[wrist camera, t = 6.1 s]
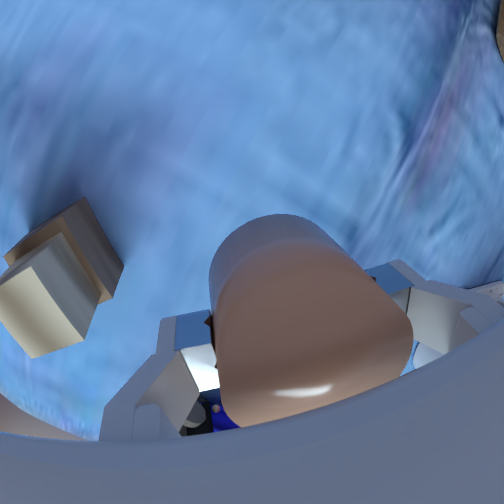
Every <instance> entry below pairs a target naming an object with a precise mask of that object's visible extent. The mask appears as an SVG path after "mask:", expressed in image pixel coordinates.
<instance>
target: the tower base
mask: <svg viewBox="0 0 504 504" xmlns="http://www.w3.org/2000/svg"><path fill="white" fill-rule="evenodd" d="M60 232H63V234H64V235H65V237H66V239H67V241H68V242H69V244H70V246H71V248H72V249H73V251H74V253H75V254H76V256H77V258H78V259H79V261H80V263H81V264H82V266H83V267H84V269H85V271H86V272H87V274H88V275H89V277H90V279H91V280H92V282H93V283H94V285H95V286H96V288H97V289H98V291H99V292H100V294H101V297H100V300H99V302H98V304H100V303H102V302H105V301H107V300H109V299H111V298H113V295H114V293H115V290H116V287H117V284H118V281H119V279H120V276H121V273H122V271H123V268H124V266H123V264H122V262H121V261H120V259H119V257H118V256H117V254H116V252H115V251H114V249H113V247H112V246H111V244H110V242H109V241H108V239H107V237H106V235H105V234H104V232H103V230H102V228H101V226H100V225H99V223H98V221H97V219H96V217H95V215H94V214H93V212H92V210H91V208H90V206H89V204H88V202H87V200H86V198H85V197H83V198H81V199H80V200H78V201H76V202H75V203H73V204H72V205H70V206H68V207H67V208H65V209H64V210H62V211H60V212H59V213H57V214H56V215H54V216H53V217H51V218H50V219H48V220H47V221H45V222H44V223H42V224H41V225H39V226H38V227H36V228H35V229H33V230H32V231H30V232H29V233H28V234H27V235H26V236H25V237H23V238H22V239H21V240H20V241H19V242H18V243H17V244H16V245H15V246H14V247H13V248H12V249H11V250H10V251H9V252H7V253H6V254H5V255H4V256H3V257H4V259H5V260H6V262H7V263H8V265H9V267H10V266H11V265H12V264H13V262H14V261H16V260H17V259H19V258H20V257H22V256H23V255H25V254H26V253H28V252H29V251H31V250H32V249H34V248H36V247H37V246H39V245H40V244H42V243H44V242H45V241H47V240H49V239H50V238H52V237H53V236H55V235H57V234H59V233H60Z"/></svg>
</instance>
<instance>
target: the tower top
mask: <svg viewBox="0 0 504 504" xmlns="http://www.w3.org/2000/svg"><path fill="white" fill-rule="evenodd" d="M100 297H101V294H100V292H99V291H98V289H97V288H96V286H95V285H94V283H93V282H92V280H91V279H90V277H89V275H88V274H87V272H86V271H85V269H84V267H83V266H82V264H81V263H80V261H79V259H78V258H77V256H76V254H75V253H74V251H73V249H72V248H71V246H70V244H69V242H68V241H67V239H66V237H65V235H64V234H63V232H60V233H59V234H57V235H55V236H53V237H52V238H50V239H49V240H47V241H45V242H44V243H42V244H40V245H39V246H37V247H36V248H34V249H32V250H31V251H29V252H28V253H26V254H25V255H23V256H22V257H20V258H19V259H17V260H16V261H14V262H13V264H12V265H11V266H10V267H9V268H8V269H7V270H6V271H5V272H4V273H3V275H2V276H1V277H0V321H1V322H2V323H3V325H4V326H5V327H6V329H7V330H8V331H9V332H10V334H11V335H12V336H13V337H14V339H15V340H16V341H17V342H18V344H19V345H20V346H21V347H22V348H23V349H24V351H25V352H26V353H27V354H28V355H29V356H30V357H31V358H32V359H33V358H36V357H39V356H42V355H45V354H48V353H50V352H53V351H56V350H59V349H62V348H64V347H67V346H70V345H73V344H75V343H78V342H81V341H84V340H85V337H86V334H87V331H88V329H89V326H90V323H91V320H92V318H93V315H94V312H95V310H96V307H97V305H98V302H99V300H100Z"/></svg>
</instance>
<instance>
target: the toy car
mask: <svg viewBox="0 0 504 504" xmlns="http://www.w3.org/2000/svg"><path fill="white" fill-rule="evenodd" d="M197 401H200V402H202V403H201V404H200V403H199V402H197ZM197 401H196V402H195V404H194V405H193V407H192V409H191V411H190V413H189V415H188V416H187V418H186V420H185V422H184V424H183V425H182V427H181V429H180V431H179V434H180V435H181V436H182V437H184V436H192V435H200V434H207V433H213V432H219V431H225V430H230V429H236V428H241V427H240V426H238V425H237V424H236V423H234V422H233V421H232V420H231V419H230V418H229V417H228V416H227V414H226V412H225V411H224V408H223V406H221V405H217V404H215V405H213V406H212V405H210V402H209V401H208V400H205V399H203V398H201V397H198V398H197Z"/></svg>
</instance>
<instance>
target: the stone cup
mask: <svg viewBox="0 0 504 504" xmlns="http://www.w3.org/2000/svg"><path fill="white" fill-rule="evenodd" d="M496 38H497V43H498V47H499V51H500V54H501V57H502V59H503V62H504V0H501V2H500V7H499V14H498V22H497V29H496Z"/></svg>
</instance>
